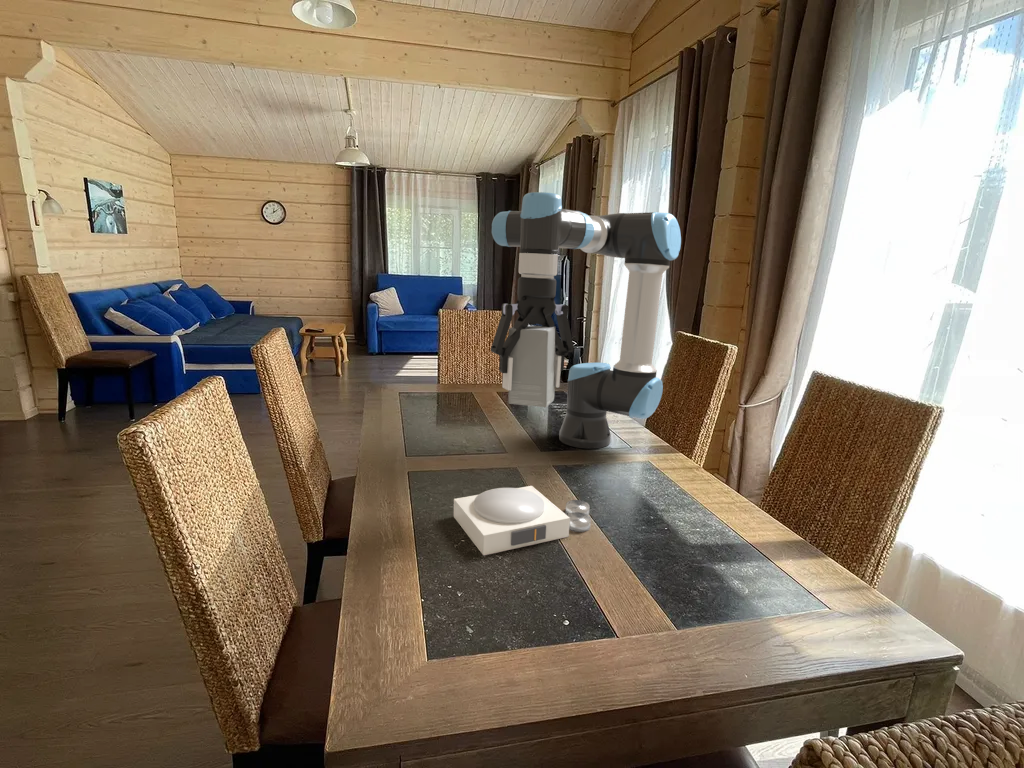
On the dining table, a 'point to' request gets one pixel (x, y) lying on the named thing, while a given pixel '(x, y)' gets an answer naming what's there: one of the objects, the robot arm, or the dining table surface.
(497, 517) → the scale
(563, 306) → the robot arm
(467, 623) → the dining table surface
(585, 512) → the spacer
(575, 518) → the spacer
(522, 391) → the skincare box
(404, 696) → the dining table surface
